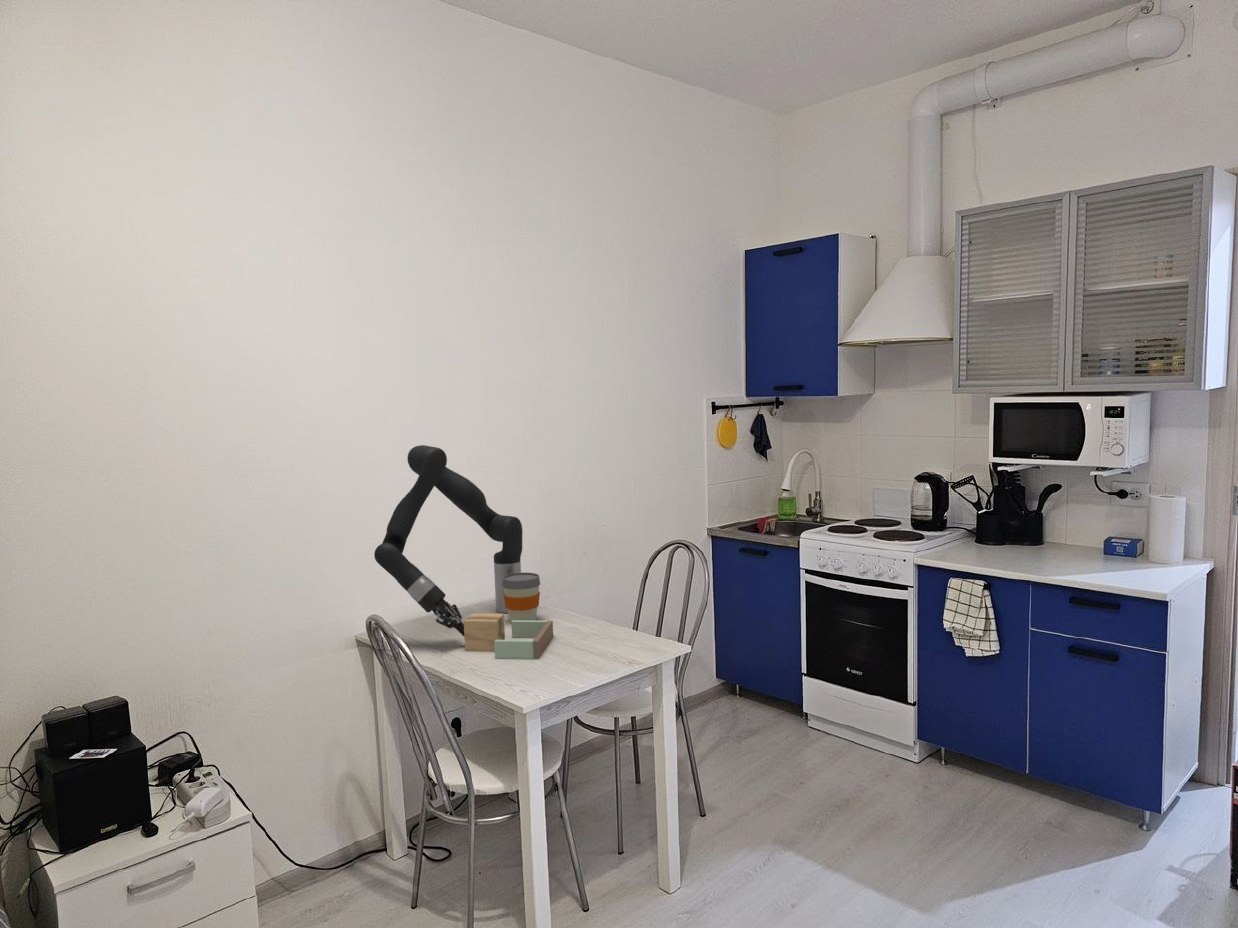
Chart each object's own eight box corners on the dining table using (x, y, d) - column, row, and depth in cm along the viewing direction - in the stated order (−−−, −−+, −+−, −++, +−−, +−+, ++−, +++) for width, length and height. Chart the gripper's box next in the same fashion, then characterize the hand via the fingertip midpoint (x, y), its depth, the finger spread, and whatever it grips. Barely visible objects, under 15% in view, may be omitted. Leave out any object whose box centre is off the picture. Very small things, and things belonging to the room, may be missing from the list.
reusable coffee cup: (501, 617, 276) (499, 574, 274) (538, 614, 279) (536, 570, 278) (506, 627, 264) (504, 582, 262) (544, 623, 267) (542, 579, 266)
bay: (513, 635, 255) (512, 620, 255) (553, 636, 253) (552, 620, 253) (494, 658, 234) (494, 641, 234) (538, 658, 233) (537, 641, 232)
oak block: (473, 642, 250) (472, 613, 249) (505, 642, 248) (503, 613, 248) (465, 650, 242) (463, 620, 241) (497, 651, 241) (496, 621, 240)
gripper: (426, 590, 239) (468, 631, 239) (441, 579, 252) (481, 618, 252) (409, 607, 240) (451, 648, 240) (426, 596, 253) (465, 635, 253)
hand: (467, 633), depth 246 cm, fingers closed
